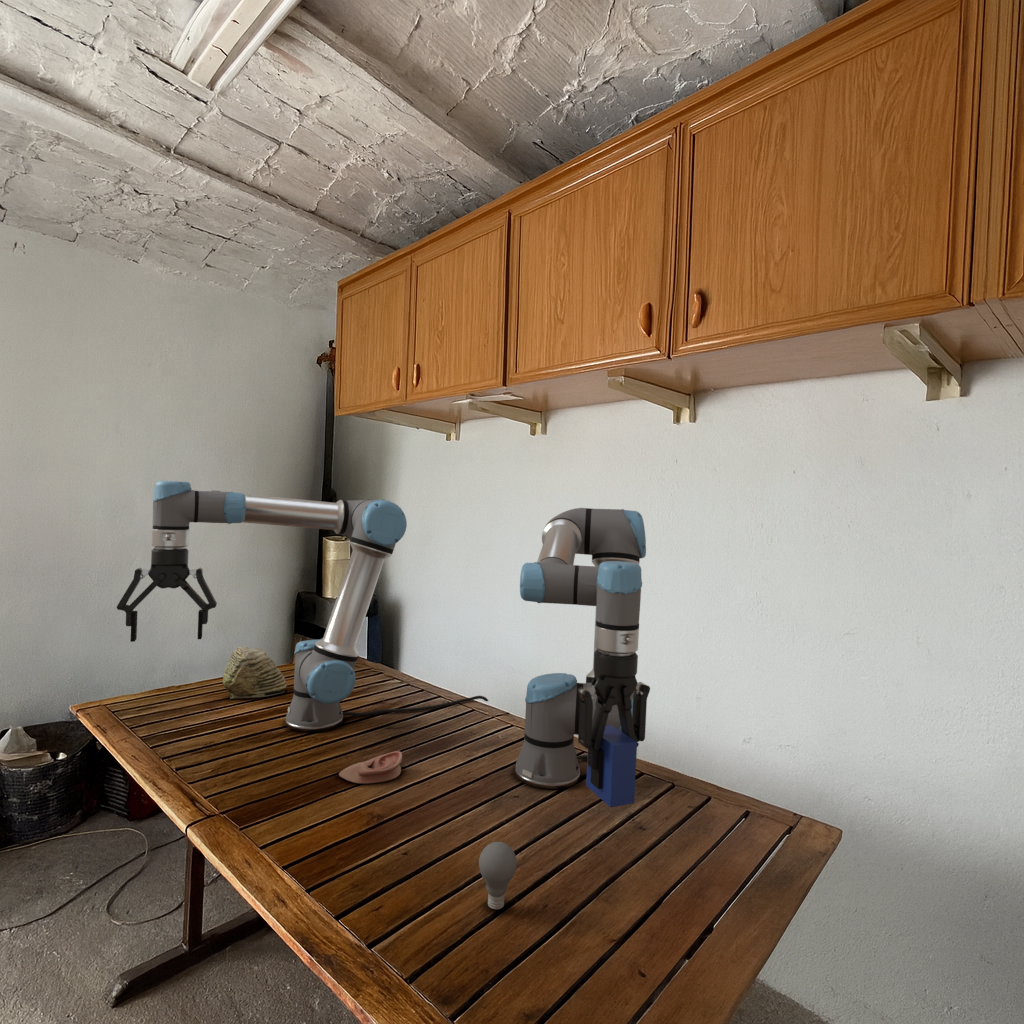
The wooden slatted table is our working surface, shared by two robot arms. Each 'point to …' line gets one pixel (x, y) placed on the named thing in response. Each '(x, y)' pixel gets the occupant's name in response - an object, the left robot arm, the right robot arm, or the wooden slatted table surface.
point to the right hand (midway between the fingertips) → (609, 782)
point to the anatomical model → (374, 769)
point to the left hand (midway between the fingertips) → (167, 639)
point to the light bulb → (497, 871)
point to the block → (616, 768)
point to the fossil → (252, 674)
